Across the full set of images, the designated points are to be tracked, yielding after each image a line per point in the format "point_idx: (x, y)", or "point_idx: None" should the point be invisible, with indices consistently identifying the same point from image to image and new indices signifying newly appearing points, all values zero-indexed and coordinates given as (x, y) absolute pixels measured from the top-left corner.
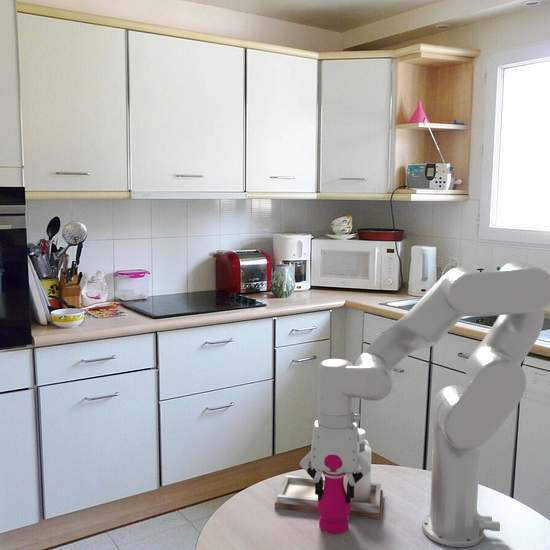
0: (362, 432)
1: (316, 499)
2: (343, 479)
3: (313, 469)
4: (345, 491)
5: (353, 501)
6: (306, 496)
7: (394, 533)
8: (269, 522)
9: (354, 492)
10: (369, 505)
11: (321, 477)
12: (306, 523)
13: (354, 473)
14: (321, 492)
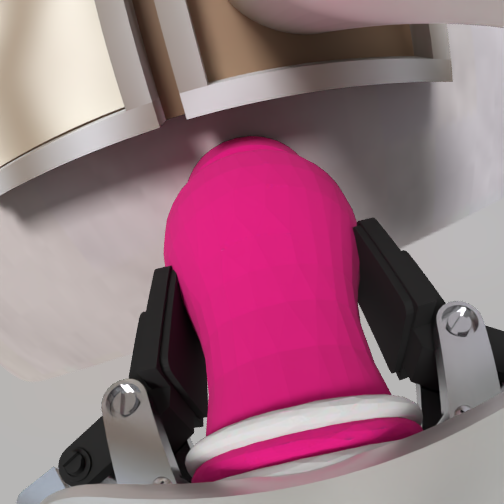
0: None
1: (106, 135)
2: None
3: (104, 469)
4: (356, 281)
5: (313, 32)
6: (37, 81)
7: (463, 156)
8: (36, 273)
9: (340, 29)
10: (412, 80)
11: (177, 412)
12: (136, 223)
13: (489, 354)
14: (202, 356)
